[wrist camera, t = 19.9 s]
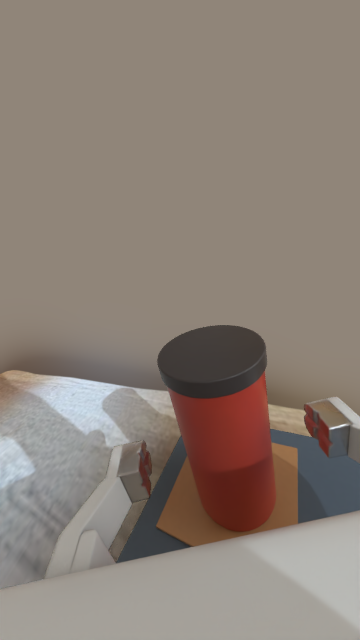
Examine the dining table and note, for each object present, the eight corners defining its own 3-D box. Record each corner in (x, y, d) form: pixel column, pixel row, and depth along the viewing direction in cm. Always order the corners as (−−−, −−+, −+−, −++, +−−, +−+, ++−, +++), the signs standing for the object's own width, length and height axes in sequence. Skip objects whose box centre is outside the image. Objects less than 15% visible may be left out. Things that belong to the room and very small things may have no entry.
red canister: (183, 513, 14) (135, 374, 10) (210, 440, 19) (183, 325, 15) (275, 555, 12) (256, 390, 8) (281, 459, 16) (271, 324, 12)
